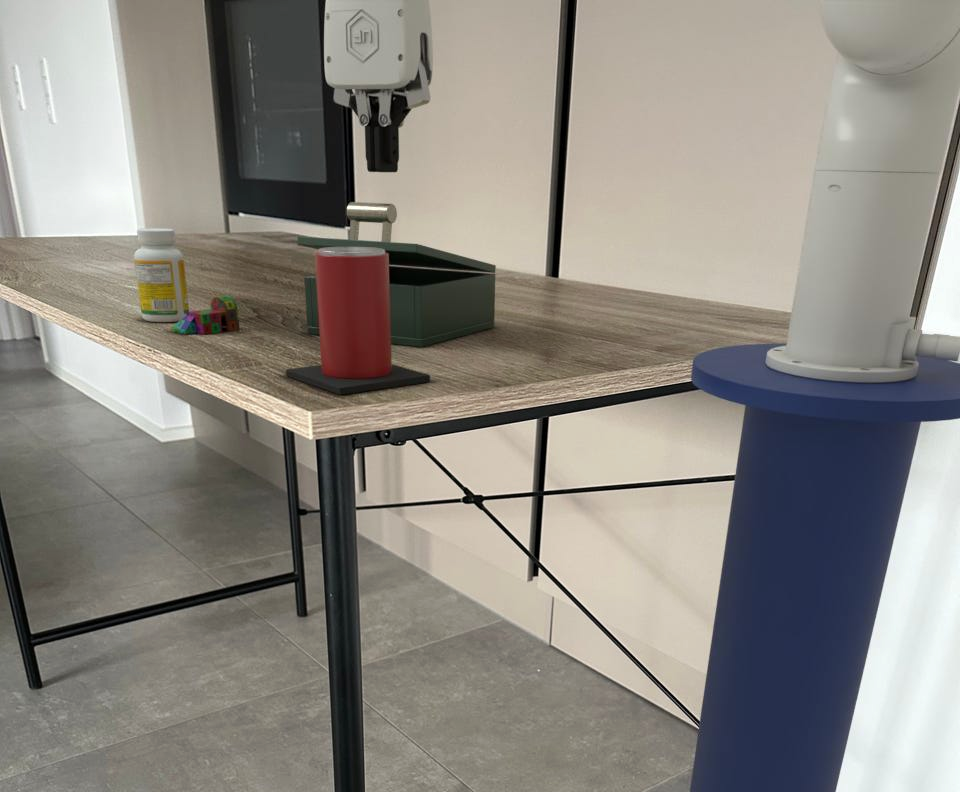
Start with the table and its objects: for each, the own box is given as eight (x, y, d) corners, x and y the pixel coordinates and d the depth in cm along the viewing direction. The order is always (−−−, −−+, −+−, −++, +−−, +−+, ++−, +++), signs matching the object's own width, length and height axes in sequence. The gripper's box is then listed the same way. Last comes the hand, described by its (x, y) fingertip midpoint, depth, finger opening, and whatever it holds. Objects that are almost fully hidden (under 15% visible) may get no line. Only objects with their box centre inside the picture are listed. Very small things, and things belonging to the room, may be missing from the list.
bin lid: (416, 252, 91) (420, 200, 89) (297, 244, 97) (299, 196, 96) (495, 273, 105) (500, 228, 103) (386, 264, 111) (389, 222, 110)
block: (217, 325, 106) (214, 293, 104) (239, 329, 103) (236, 297, 102) (171, 331, 102) (166, 298, 100) (193, 335, 99) (189, 302, 98)
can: (405, 370, 82) (402, 249, 77) (365, 382, 77) (360, 254, 73) (349, 362, 84) (343, 245, 80) (307, 373, 80) (299, 249, 75)
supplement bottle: (162, 324, 106) (150, 231, 101) (132, 319, 108) (119, 229, 104) (200, 318, 110) (190, 229, 105) (170, 314, 112) (159, 227, 108)
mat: (430, 382, 81) (430, 374, 80) (340, 395, 75) (339, 387, 75) (372, 365, 87) (372, 358, 86) (285, 376, 82) (285, 369, 81)
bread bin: (421, 347, 95) (420, 286, 93) (307, 333, 102) (303, 276, 99) (494, 327, 108) (495, 273, 105) (388, 316, 114) (387, 265, 111)
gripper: (287, -52, 87) (300, 170, 95) (424, -64, 81) (425, 174, 89) (336, -38, 93) (345, 170, 101) (467, -48, 86) (465, 174, 95)
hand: (382, 171), depth 95 cm, fingers closed
